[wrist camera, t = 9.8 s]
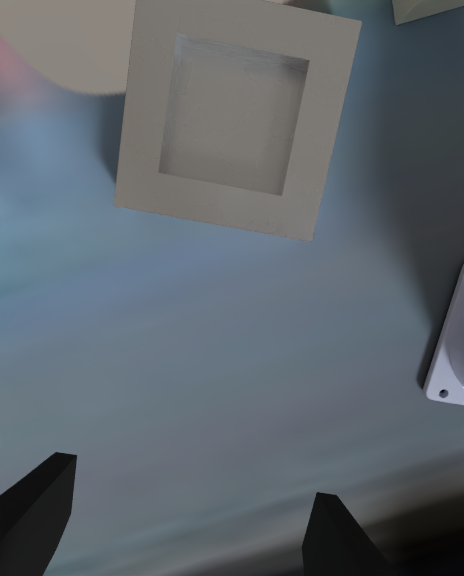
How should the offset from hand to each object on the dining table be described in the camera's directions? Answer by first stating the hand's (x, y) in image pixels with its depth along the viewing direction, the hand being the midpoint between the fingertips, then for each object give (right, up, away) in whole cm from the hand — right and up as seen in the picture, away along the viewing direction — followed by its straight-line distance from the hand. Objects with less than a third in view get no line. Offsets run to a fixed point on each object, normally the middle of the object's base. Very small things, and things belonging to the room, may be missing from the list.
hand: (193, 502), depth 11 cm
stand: (+1, +14, +7) cm, 16 cm away
